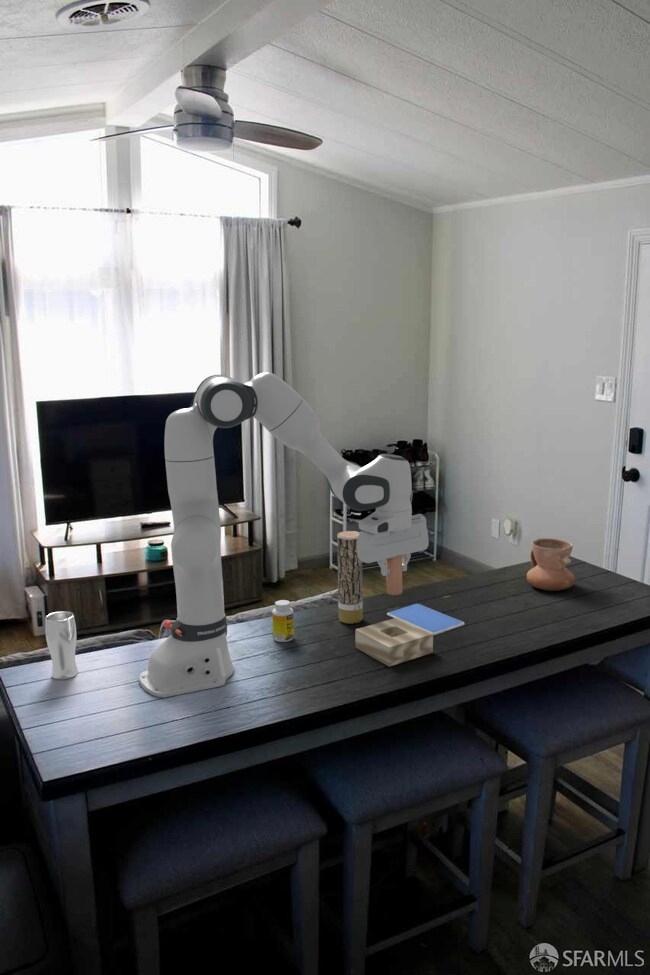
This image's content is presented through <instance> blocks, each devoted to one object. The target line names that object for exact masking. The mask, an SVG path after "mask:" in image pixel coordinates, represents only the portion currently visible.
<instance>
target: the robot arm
mask: <svg viewBox="0 0 650 975" xmlns="http://www.w3.org/2000/svg"><path fill="white" fill-rule="evenodd" d="M192 397H193V398H191V401H190V404H189V407H186V408H179V409H177V410H175V411H173V412H171V413H170V414H169V415H168V417H167V419H166V420H165V427H164V459H165V472H166V483H167V491H168V492H167V493H168V498H169V501H170V508H171V514H172V515H171V516H172V522H173V535H172V539H171V542H170V543H171V544H170V546H171V547H170V549H171V560H172V568H173V576H174V583H175V584H174V585H175V594H176V611H177V617H176V618H175V621H174V622H172V621H171V620H169V619H165V620H164V621H163V628H165V629H166V630H168V631H170V632H171V633H170V635H169V636H168V637H167V638H166V639H165V640H164V641H163V642H161V644H160V645H159V646H158V647H156V649H155V650H153V651H152V652H151V654H150V656H149V659H148V664H147V665H148V666H147V667H148V668H147V670H144V671H141V673H139V677H138V682H139V685H140V686H141V687H142V689H143V690H144V691H145V692H147V693H148V694H150V695H152V696H155V697H158V698H168V697H173V696H180V695H182V694H188V693H193V692H198V691H203V690H209V689H213V688H218V687H223V686H225V684H226V683H227V680H228V679H229V677H230V676H232V675H233V673H234V671H235V667H234V665H233V662H232V659H231V658H232V657H231V654H230V652H229V645H228V640H227V635H228V622H227V614H226V613H225V600H224V599H225V598H224V596H225V595H224V580H223V568H222V553H221V552H222V551H221V550H222V548H221V547H222V546H221V545H222V544H221V543H222V542H221V541H222V540H221V539H222V527H221V517H220V507H219V498H218V496H219V495H218V489H217V488H218V487H217V486H218V485H217V475H216V465H215V462H216V461H215V454H214V434H215V431H216V430H217V428H220V429H229V428H233V427H236V426H238V425H240V424H241V423H243V422H244V421H245V422H246V421H247V420H249V419H251V418H254V419H255V420H256V421H257V422H259V423H260V424H261V425H262V426H263V427H264V428H265V430H267V431H268V432H269V433H270V434H271V435H272V436H273V437H274V438H275V439H276V440H278V441H279V442H280V443H282V444H283V445H285V446H286V447H288V448H289V449H291V450H295V451H298V452H299V453H302V454H303V455H304V456H305V457H306V458H307V459H308V460H309V461H310V462H311V463H312V464H313V465H314V466H315V467H316V468H317V469H318V470H319V471H320V472H321V473H322V474H323V475H324V477H325V479H326V481H327V484H328V487H329V490H330V492H331V494H333V496H334V497H335V498H336V499H338V500H339V501H341V502H342V503H343V504H345V505H346V507H348V508H349V509H351V510H353V511H357V512H363V511H364V512H365V511H369V510H374V509H375V511H374V512H372V513H371V514H369V515H368V516H366V517H365V518H363V519H361V520H360V521H359V522H358V529H359V530H361V531H360V533H359V535H358V542H357V556H358V558H359V559H360V561H362V563H365V564H371V563H375V562H377V564H378V566H379V568H380V574H381V575H382V576H383V577H386V576H387V575H390V568H387V567H386V563H387V559H389V558H393V557H395V556H399V555H402V573H403V572H406V571H408V564H409V561H410V559H411V556H412V555H411V554H413V553H417V552H422V551H425V550H427V549H428V548H429V544H430V543H429V542H430V541H429V540H430V539H429V532H428V527H427V518H426V517H425V515H423V514H422V513H417V514H413V509H412V502H411V495H412V490H413V489H412V485H413V484H412V473H411V466H410V463H409V461H408V459H406V458H405V457H403V456H401V455H397V454H391V453H381V454H379V455H377V457H376V458H375V459H374V460H372V461H370V462H369V463H368V464H366V465H364V466H361V465H359V464H358V463H356V462H353V461H350V460H347V459H346V458H344V457H342V456H341V455H340V453H338V451H337V450H336V449H335V448H334V447H333V446H332V445H331V444H330V443H329V442H328V441H327V440H326V439H325V437H324V435H323V434H322V432H321V429H320V428H321V427H320V424H321V423H320V419H319V417H318V416H317V415H316V413H315V412H314V410H313V409H312V407H311V406H310V405H309V404H308V402H307V401H306V400H305V399H304V398H303V397H302V396H301V395H300V394H299V393H298V392H297V391H296V390H295V389H294V388H293V387H292V386H291V385H289V384H288V383H287V382H286V381H285V380H283V379H282V378H280V377H279V376H278V375H276V374H274V373H272V372H269V371H264V372H260V373H258V374H257V375H255V376H253V377H252V378H251V379H250V380H249V381H247V382H243V383H242V382H239V381H237V380H236V379H234V378H233V377H230V376H228V375H223V374H214V375H210V376H208V377H206V378H205V379H203V380H202V381H201V382H200V383H199V385H198V387H197V388H196V390H195V393H194V395H193V396H192ZM412 514H413V515H412Z"/></svg>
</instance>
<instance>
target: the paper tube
mask: <svg viewBox="0 0 650 975" xmlns="http://www.w3.org/2000/svg"><path fill="white" fill-rule="evenodd" d="M360 532H361V531H360ZM360 532H359V531H355V530H347V531H345V530H344V531H340V532H338V533H337V537H336V538H337V593H338V594H337V595H338V596H337V597H338V598H337V600H338V602H337V604H338V607H337V608H338V620H339V622H341V623H343V624H346V625H347V624H348V625H349V624H350V625H352V624H354V623H355V624H359V623H360V622H362V621H363V619H364V615H363V613H364V612H363V610H364V609H363V608H364V607H363V606H364V604H363V603H364V600H363V599H364V598H363V597H364V596H363V595H364V594H363V593H364V590H363V581H364V580H363V562H362V561H360V559H359V558H358V556H357V542H358V535H359V533H360Z"/></svg>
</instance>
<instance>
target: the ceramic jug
mask: <svg viewBox="0 0 650 975" xmlns="http://www.w3.org/2000/svg"><path fill="white" fill-rule="evenodd" d="M573 547H574V546H573V543H572V542H569V541H566V540H562V539H558V538H550V537H549V538H536V539H533V540H532V541H531V551H530V554H529V557H530V562H531V566H532V568H530V569H529V570H528V571H527V573H526V580H527V582H528V583H529V584H530V585H531V586H532V587H534V588H536V589H539V590H542V591H547V592H558V591H564V590H567V589H569V588H571V587H572V586H573V585H574V584H575V582H576V576H575V574H574V573H573V572H572V571H571V570H570V569H568V568H567V567H566V565H568V564H570V563H571V562H572V560H571V559H570V556H571V555H572V552H573V551H572V550H573Z"/></svg>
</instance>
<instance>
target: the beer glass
mask: <svg viewBox="0 0 650 975" xmlns="http://www.w3.org/2000/svg"><path fill="white" fill-rule="evenodd" d="M44 624H45V629H44V630H45V631H44V632H45V640H46V643H47V648H48V650H49V655H50V657H51V663H52V668H51V670H52V671H51V677H52V679H54V680H58V681H59V680H61V681H63V680H68V679H69V680H70V679H73V678H74V677H76V676H77V675H78V673H79V670H78V666H77V662H76V648H77V625H76V620H75V614H74V613H73V612H71V611H66V610H63V611H62V610H61V611H55V612H51V613H49V614H48V615H46V616H45V617H44Z"/></svg>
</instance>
